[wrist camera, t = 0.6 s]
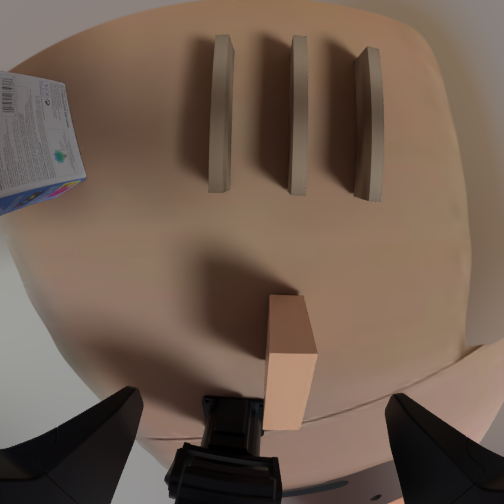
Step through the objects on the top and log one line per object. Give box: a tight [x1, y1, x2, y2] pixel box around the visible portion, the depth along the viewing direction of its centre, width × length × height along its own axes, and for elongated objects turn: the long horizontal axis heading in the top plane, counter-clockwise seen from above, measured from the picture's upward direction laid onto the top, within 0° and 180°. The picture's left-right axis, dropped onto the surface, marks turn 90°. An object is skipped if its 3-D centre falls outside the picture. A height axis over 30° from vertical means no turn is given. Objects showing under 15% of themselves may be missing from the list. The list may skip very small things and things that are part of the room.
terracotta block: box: [263, 295, 318, 430], centre depth 17 cm, size 7×2×7 cm, turn 178°
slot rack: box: [209, 34, 384, 202], centre depth 15 cm, size 10×10×3 cm
